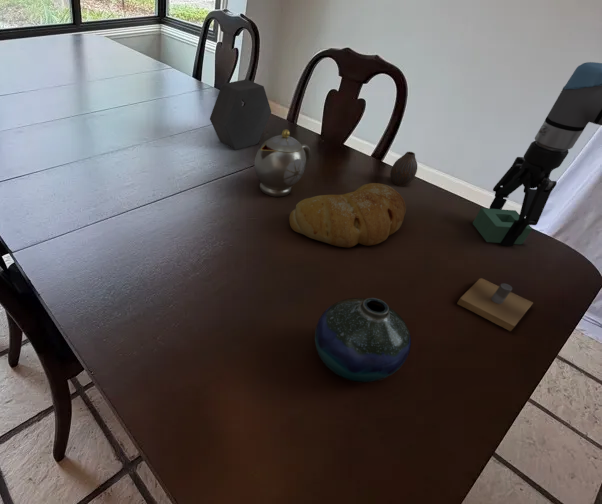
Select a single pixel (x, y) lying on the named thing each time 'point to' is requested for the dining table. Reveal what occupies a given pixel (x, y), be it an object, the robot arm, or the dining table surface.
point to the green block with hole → (498, 224)
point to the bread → (351, 216)
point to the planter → (240, 113)
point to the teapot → (281, 164)
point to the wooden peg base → (495, 303)
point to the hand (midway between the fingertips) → (496, 232)
